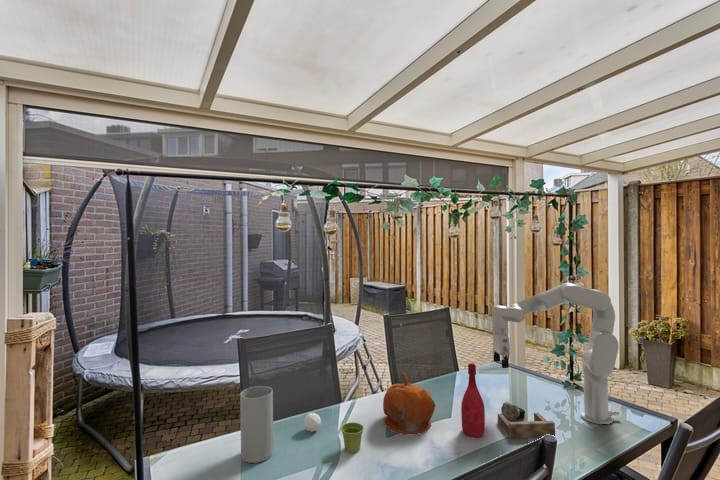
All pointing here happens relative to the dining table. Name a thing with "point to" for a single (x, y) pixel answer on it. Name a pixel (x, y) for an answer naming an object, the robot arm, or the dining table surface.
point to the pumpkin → (408, 408)
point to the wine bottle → (472, 407)
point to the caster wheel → (511, 411)
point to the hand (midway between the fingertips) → (500, 364)
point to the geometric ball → (312, 422)
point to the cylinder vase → (256, 424)
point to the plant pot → (352, 436)
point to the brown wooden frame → (527, 427)
